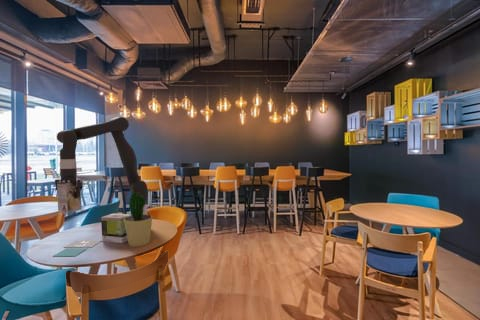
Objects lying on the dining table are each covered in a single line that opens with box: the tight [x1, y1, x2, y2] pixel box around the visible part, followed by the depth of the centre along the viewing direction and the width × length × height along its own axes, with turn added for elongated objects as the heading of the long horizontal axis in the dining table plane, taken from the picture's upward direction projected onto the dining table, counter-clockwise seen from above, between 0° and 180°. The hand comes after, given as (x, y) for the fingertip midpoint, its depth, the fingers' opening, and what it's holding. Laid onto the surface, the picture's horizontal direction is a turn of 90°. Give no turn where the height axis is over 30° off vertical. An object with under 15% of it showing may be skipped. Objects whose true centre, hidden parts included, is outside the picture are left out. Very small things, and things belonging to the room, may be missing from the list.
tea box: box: [100, 212, 132, 244], centre depth 159 cm, size 15×10×15 cm, turn 71°
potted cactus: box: [124, 192, 153, 248], centre depth 152 cm, size 15×15×30 cm
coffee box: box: [56, 182, 83, 214], centre depth 142 cm, size 9×6×16 cm
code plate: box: [63, 240, 102, 249], centre depth 153 cm, size 16×10×1 cm, turn 87°
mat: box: [52, 247, 89, 258], centre depth 141 cm, size 12×10×1 cm
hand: (69, 198), depth 142 cm, fingers closed on coffee box, 7 cm apart
